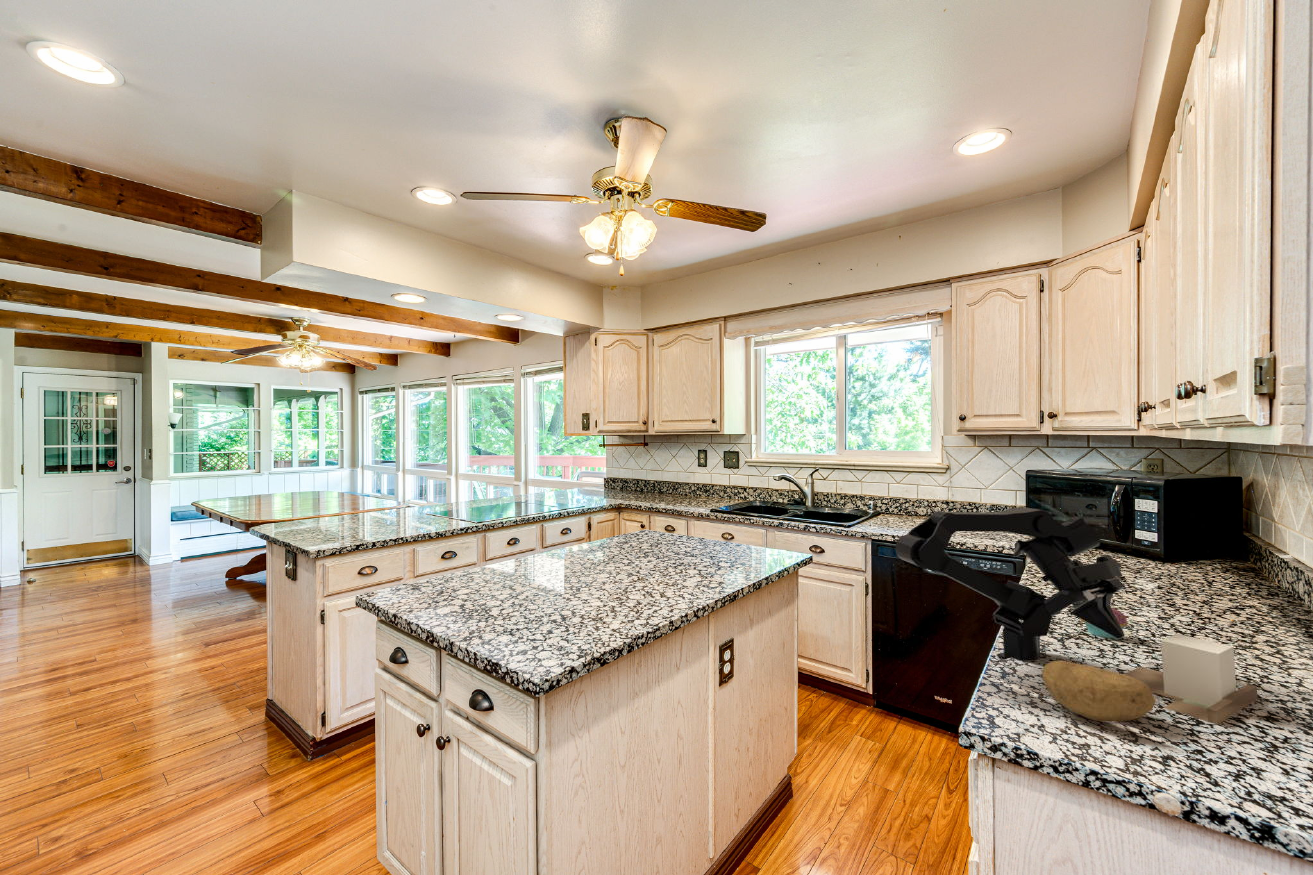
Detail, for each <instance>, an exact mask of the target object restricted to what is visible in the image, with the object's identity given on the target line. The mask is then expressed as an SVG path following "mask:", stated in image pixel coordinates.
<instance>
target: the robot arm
mask: <svg viewBox="0 0 1313 875" xmlns="http://www.w3.org/2000/svg"><path fill="white" fill-rule="evenodd" d="M956 532H985V533H986V532H989V533H992V532H995V533H996V532H997V533H1000V532H1003V533H1004V532H1005V533H1007V532H1008V533H1012V534H1018V535H1022V536H1028V537H1031V538H1030V539H1028V540H1021V539H1017V540H1016V541H1015V543H1014V551H1013V554H1012V555H1013V556H1014V557H1019V556H1021V555H1023V554H1025V555H1026V556H1027V557H1028V558H1029V559H1030V560H1031V563H1033V564H1034V565H1035V567H1037V569H1038V570H1039V571H1040V572H1041V573H1042V574H1043V576H1042V577H1041V579H1042V580H1043V582H1045V583H1048V582H1050V583H1051V585H1053V586H1054V588H1055V589H1056V590H1057V591H1058V592H1055V594H1052V596H1049V597H1048V598H1047V595H1046V594H1042V593H1040V592H1037V591H1035V590H1033V589H1032V588H1030V587H1029V586H1026V585H1024V584H1020V583H1017V582H1014V581H1012V580H1007V582H1006V584H1003V583H1002V582H999V581H997V580H995V579H993V578H991V577H990V576H988V575H985V574H983V573H981V572H980V571H977V570H976V569H974V568H972V567H970V566H968V565H966V564H964V563H962V562H960V561H959V560H956V559H954V558H953V557H951V556H950V555H949V554H948V552H947V551H945V549H946V548H947V547H948V545H949V543H950V541H951V538H952V536H953V535H954V533H956ZM1100 544H1101V536H1100V534H1099V533H1098V532H1097V531H1096V530H1095V529H1094V527H1093V526H1091V525H1090V524H1088V523H1086V522H1085V519H1084V518H1083V517H1079V516H1078V517H1077V516H1073V517H1070V518H1069V519H1068V520H1066V521H1064V522H1061V523H1060V522H1059V521H1057V520H1055V518H1054V517H1053V515H1052V514H1051V513H1050V511H1048V510H1045V509H1044V510H1043V509H1038V508H1031V507H1024V506H1021V507H1020V506H1019V507H1013V508H1012V507H1011V508H1007V509H1004V510H1001V511H997V512H982V511H981V512H978V511H977V512H969V511H968V512H966V511H965V512H964V511H961V512H960V511H958V512H956V511H955V512H954V511H953V512H952V511H943V510H937V511H935V512H933V513H932V514H931V515H929V517H927V518H926V519H925V520H924V521H923V522H920V523H919V524H918V525H916V526H914V527H913V528H912V529H911V530H909V531H908V533H907V534H904V535H902V536H901V537H900V538H899V537H898V539H897V541H896V544H895V551H896V555H897V557H898V558H899V559H900V560H902V561H904V562H907V563H910V564H912V565H914V566H917V567H920V568H922V569H926V570H930V571H932V572H936V573H940V574H941V575H943V576H946V577H948V578H950V579H952V580H953V581H955V582H957V583H959V584H962V585H963V586H966V587H967V588H969V589H972V590H973V591H975V592H977V593H979V594H981V595H983V596H985V597H986V598H989V599H991V600H993V601H994V603H995V604H996V605H997V606H998V608H997V609H996V610H995V611H994V612H993V613H992V617H993V620H994V623H995V624H997V625H999V626H1002V627H1003V629H1002V637H1003V638H1002V640H1003V643H1002V644H1003V652H1000V653H997V654H996V656H997V657H998V658H1000V659H1003V660H1008V659H1013V660H1017V661H1020V662H1022V661H1027V662H1028V661H1029V662H1030V661H1031V662H1032V661H1038V660H1039V658H1040V656H1041V641H1040V640H1041V639H1040V637H1045V636H1048V633H1049V630H1050V626H1051V622H1052V618H1053V617H1054V616H1059V615H1060V614H1061V611H1063V610H1065V609H1066V608H1068V607H1069V606H1071V605H1072V606H1071V607H1072V608H1073V610H1072V611H1069V613H1068V614H1069V615H1070V616H1074V617H1076V618H1078V619H1079V618H1080V619H1082V620H1084V621H1086V622H1088V623H1090V624H1092V625H1094V626H1096V627H1098V628H1099V629H1101V630H1103V631H1105V632H1107V633H1109V634H1110V635H1112V636H1114V637H1116V638H1118V639H1117V640H1120V639H1122V638H1124V637H1125V636H1126V635H1125V633H1124V631H1123V630H1122V629H1121V627H1120V625H1119V623H1118V621H1117V619H1116V617H1115V615H1114V613H1113V611H1112V609H1111V608H1112V606H1111V604H1112V602H1111V601H1112V597H1114V594H1115V593H1118V592H1120V591H1121V590H1122V589H1124V588H1126V586H1125V585H1124V584H1123V582H1121V580H1119V578H1118V577H1123V575H1124V574H1122V572H1121V570H1120V569H1121V568H1122V566H1123V565H1122V564H1121V563H1120V562H1119V561H1117V558H1116V559H1115V558H1113V557H1112V556H1110V555H1109V554H1107V555H1103V556H1102V555H1101V556H1098V557H1096V560H1095V562H1094V563H1089V564H1084V563H1083V562H1082V561H1081V560H1078V559H1075V560H1072V559H1071V558H1074V557H1076V556H1078V555H1080V554H1083V553H1085V552H1087V551H1090V550H1092V549H1094V548H1096V547H1099V546H1100ZM1070 557H1071V558H1070ZM1080 619H1079V620H1080Z"/></svg>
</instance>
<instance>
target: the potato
mask: <svg viewBox="0 0 1313 875" xmlns="http://www.w3.org/2000/svg"><path fill="white" fill-rule="evenodd" d="M1041 674H1042V681H1043V683H1044V686H1045V688H1046V689H1047V691H1048V692H1049V694H1050V695H1051V697H1052V698H1054V700H1055V701H1056V702H1058V703H1059V704H1061V705H1062V706H1063V707H1065V708H1066V709H1067V710H1069V711H1071V712H1073V713H1074V714H1076V715H1079V716H1081V717H1084V718H1086V719H1088V720H1092V721H1097V722H1101V723H1102V722H1103V723H1113V722H1115V723H1117V722H1128V721H1133V720H1137V719H1139V718H1140V719H1141V717H1143V716H1145V715H1146V714H1148V713H1150V712H1151V711H1153V708H1154V706H1155V704H1156V699H1155V698H1154V695H1153V692H1151V690H1150V688H1149V687H1148V686H1147V685H1146V684H1145V683H1143V682H1141V681H1139V680H1137V679H1134V678H1132V677H1130V676H1128V675H1124V674H1125V673H1123V674H1122V673H1118V672H1114V671H1112V670H1107V669H1104V668H1100V667H1096V666H1092V665H1085V664H1079V663H1075V662H1071V661H1065V660H1064V661H1063V660H1053V661H1050V662H1048V663H1046V664H1044V666H1043V668H1042V670H1041Z"/></svg>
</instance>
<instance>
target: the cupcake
mask: <svg viewBox="0 0 1313 875" xmlns="http://www.w3.org/2000/svg"><path fill="white" fill-rule="evenodd" d="M1111 609H1112V611H1113V613H1114V615H1115V617H1116V619H1117V621H1118V623H1119V625H1120V627H1121V629H1122V631H1123V629H1125V627H1127V626H1128V620H1127V616H1126V615H1125V614H1124V613H1122V612H1121V611H1119V610H1118V609H1116V608H1114V607H1111ZM1078 619H1079V621H1080V622H1082V623H1084V624H1085V626H1086V628H1087V631H1088V633H1089V634H1091V635H1093V636H1097V637H1100V638H1107V639H1108V638H1109V639H1115V640H1119V639H1118V638H1116V637H1114V636H1112V635H1110V634H1109V633H1107V632H1105V631H1103V630H1101V629H1099V628H1098V627H1096V626H1094V625H1092V624H1090V623H1088V622H1086V621H1084V620H1082V619H1080V618H1078Z"/></svg>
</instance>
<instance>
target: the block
mask: <svg viewBox="0 0 1313 875" xmlns="http://www.w3.org/2000/svg"><path fill="white" fill-rule="evenodd" d="M1160 644H1161V659H1162V660H1161V661H1162V662H1161V663H1162V672H1163V679H1164V694H1168V695H1171V696H1174V697H1178V698H1181V699H1184V700H1188V701H1191V702H1194V703H1198V704H1201V705H1204V706H1207V707H1210V706H1212V705H1214V704H1215V703H1217V702H1219V701H1220V700H1222V699H1224V698H1225V697H1227V696H1229V695H1230V694H1232V693H1234V692H1236V691H1237V682H1236V681H1237V680H1236V665H1235V651H1234V648H1235V647H1234V646H1233V645H1229V644H1226V643H1225V644H1224V643H1219V642H1216V641H1211V640H1206V639H1203V638H1197V637H1192V636H1188V635H1184V634H1179V633H1175V634H1172V635H1171V636H1169V637H1166V638H1163V639H1161V640H1160Z"/></svg>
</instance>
